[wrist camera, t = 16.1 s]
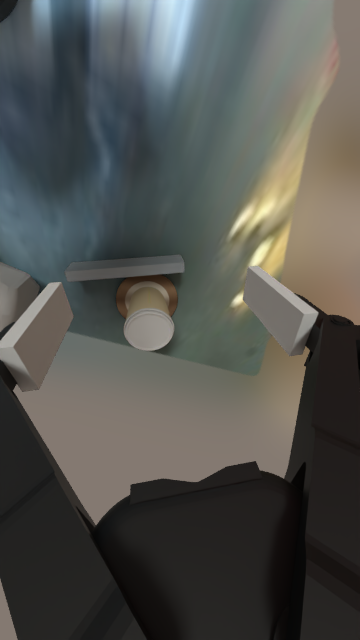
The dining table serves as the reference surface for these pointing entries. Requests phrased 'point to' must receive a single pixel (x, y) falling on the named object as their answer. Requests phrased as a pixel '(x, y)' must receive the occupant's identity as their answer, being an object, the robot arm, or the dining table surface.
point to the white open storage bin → (15, 294)
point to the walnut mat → (138, 282)
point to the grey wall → (124, 268)
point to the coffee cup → (148, 320)
